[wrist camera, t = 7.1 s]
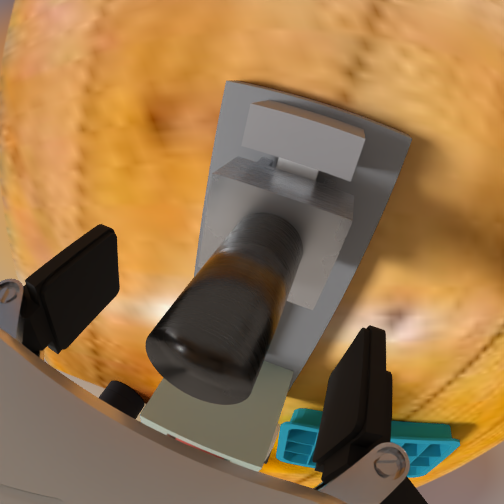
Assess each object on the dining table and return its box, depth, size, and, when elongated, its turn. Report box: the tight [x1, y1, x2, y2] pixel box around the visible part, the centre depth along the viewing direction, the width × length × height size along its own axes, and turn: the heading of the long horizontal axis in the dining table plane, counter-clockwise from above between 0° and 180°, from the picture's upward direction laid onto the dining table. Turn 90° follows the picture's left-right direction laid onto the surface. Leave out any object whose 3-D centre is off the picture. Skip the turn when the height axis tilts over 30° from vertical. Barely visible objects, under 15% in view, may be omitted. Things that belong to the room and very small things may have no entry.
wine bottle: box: [99, 381, 144, 419], centre depth 30 cm, size 6×6×30 cm
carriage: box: [146, 156, 354, 405], centre depth 13 cm, size 6×5×11 cm
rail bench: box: [140, 81, 412, 472], centre depth 18 cm, size 10×26×10 cm, turn 167°
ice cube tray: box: [276, 408, 460, 477], centre depth 29 cm, size 12×20×3 cm, turn 91°
